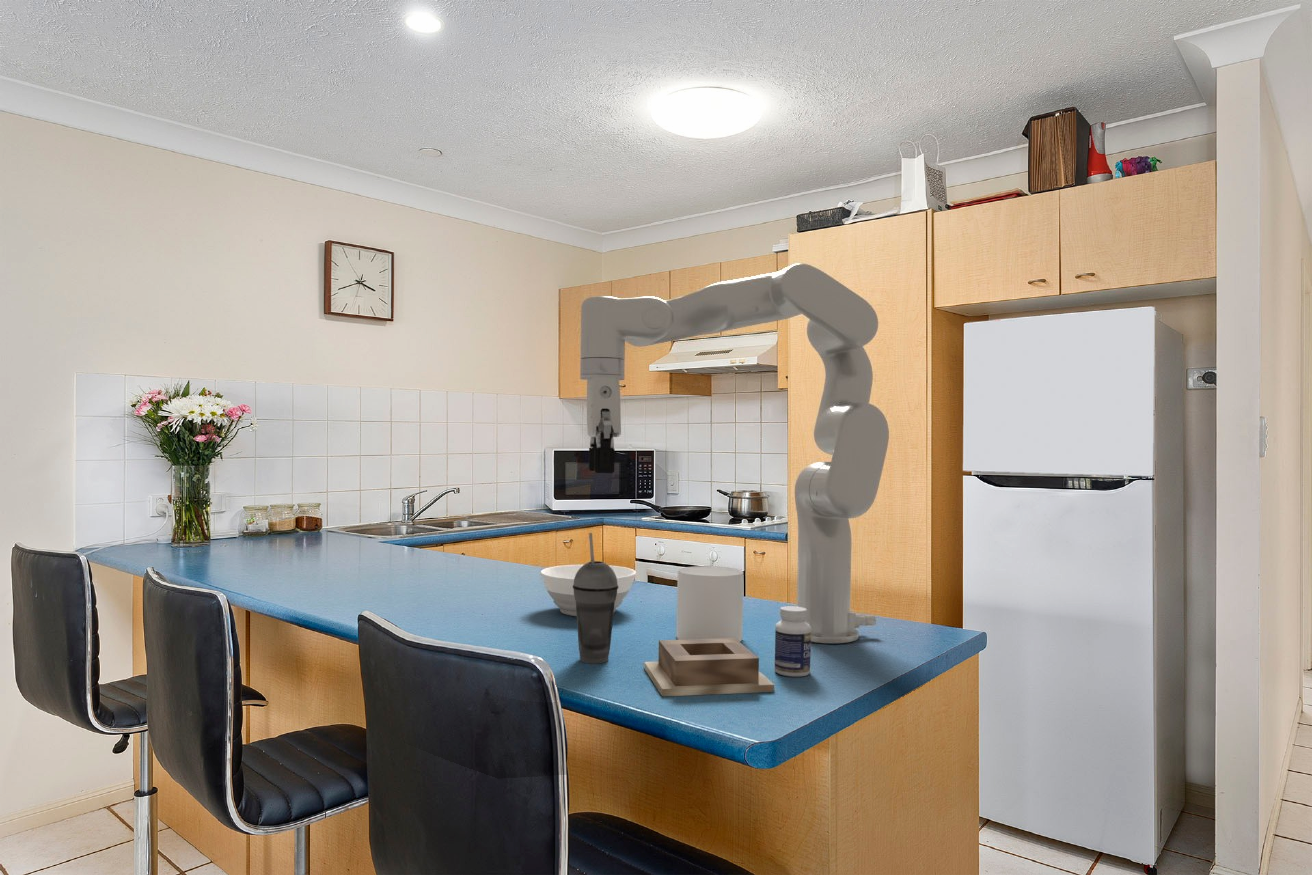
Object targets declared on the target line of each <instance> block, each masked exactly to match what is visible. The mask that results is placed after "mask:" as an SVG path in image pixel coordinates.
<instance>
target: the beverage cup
mask: <svg viewBox="0 0 1312 875" xmlns="http://www.w3.org/2000/svg"><path fill="white" fill-rule="evenodd" d="M588 539H589V540H588V542H589V551H590V552H589V554H590V561H588V562H586V563H584V565H583V566H582V567H581V568H580V569H579V570H578V572H577V573H576V576H575V579H574V585H573V589H574V597H575V600H576V613H577V616H576V625H577V626H576V627H577V642H578V651H579V661H580V662H582V663H586V664H603V663H607V662H608V661H609V656H610V651H611V641H612V633H613V632H612V631H613V622H614V613H615V612H614V604H615V600H616V596H617V589H618V585H617V577H616V575H615V573H614V571H613V570H612V568H611V567H610V566H609V564H607V563H606V562H604V561H600V560H599V561H597V560H596V561H595V554H594V540H593V533H592V532H589V533H588Z"/></svg>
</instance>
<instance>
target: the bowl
mask: <svg viewBox="0 0 1312 875" xmlns="http://www.w3.org/2000/svg"><path fill="white" fill-rule="evenodd" d="M584 564H585V563H584ZM584 564H567V565H565V564H564V565H556V566H549V567H546V568H543V569H541V570H540V576H541V579H542V583H543V584H544V588H545V589H546V592H547V593H548V595H549V596H550V597H551V598H552V600H553V603H554V605H556V607H558V608H559V612H561V613H562V614H564V615H567V616H571V617H577V613H576V600H575V597H574V589H573V585H574V579H575V576H576V573H577V572H578V570H579V569H580V568H581V567H582V566H583V565H584ZM608 565H609V564H608ZM609 566H610V567H611V568H612V570H613V571H614V573H615V575H616V577H617V585H618V589H617V596H616V600H615V604H614V613H615V612H616V610H617V609H616V608H619V607H620V606H621V605H622V603H623V600H624V599H625V598H626V597H627V595H628V594H629V592H630V590H631V588H632V585H633V584H634V580H635V578H636V575H637V571H636V570H635V569H632V568H629V567H625V566H618V565H609Z"/></svg>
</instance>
